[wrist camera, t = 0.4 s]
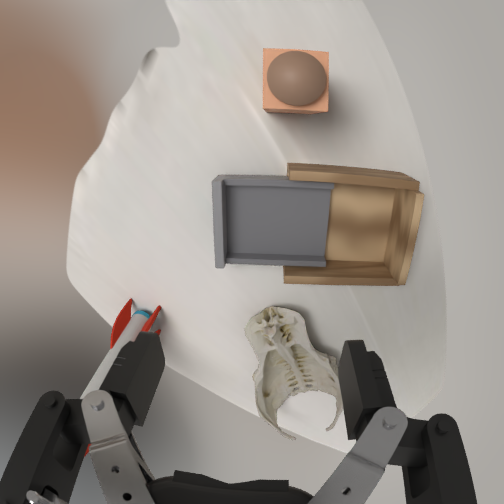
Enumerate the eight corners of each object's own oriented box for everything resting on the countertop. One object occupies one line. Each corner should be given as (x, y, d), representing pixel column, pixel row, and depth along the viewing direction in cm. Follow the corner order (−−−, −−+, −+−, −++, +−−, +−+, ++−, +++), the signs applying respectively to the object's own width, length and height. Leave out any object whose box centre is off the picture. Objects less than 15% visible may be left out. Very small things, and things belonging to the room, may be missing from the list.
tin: (266, 71, 30) (262, 46, 18) (310, 73, 29) (330, 50, 18) (266, 112, 32) (262, 107, 20) (309, 114, 32) (329, 111, 20)
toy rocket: (129, 297, 44) (29, 454, 17) (161, 305, 44) (75, 479, 17) (131, 323, 47) (48, 474, 20) (161, 332, 47) (90, 494, 20)
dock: (287, 162, 34) (290, 173, 28) (401, 172, 33) (425, 185, 27) (283, 261, 40) (284, 290, 33) (385, 265, 39) (402, 292, 33)
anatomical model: (272, 443, 46) (212, 359, 36) (272, 405, 54) (221, 315, 44) (354, 427, 43) (329, 332, 33) (346, 388, 51) (319, 288, 41)
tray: (218, 175, 34) (212, 181, 31) (330, 178, 33) (336, 185, 30) (220, 254, 38) (215, 268, 35) (322, 257, 38) (327, 272, 34)
